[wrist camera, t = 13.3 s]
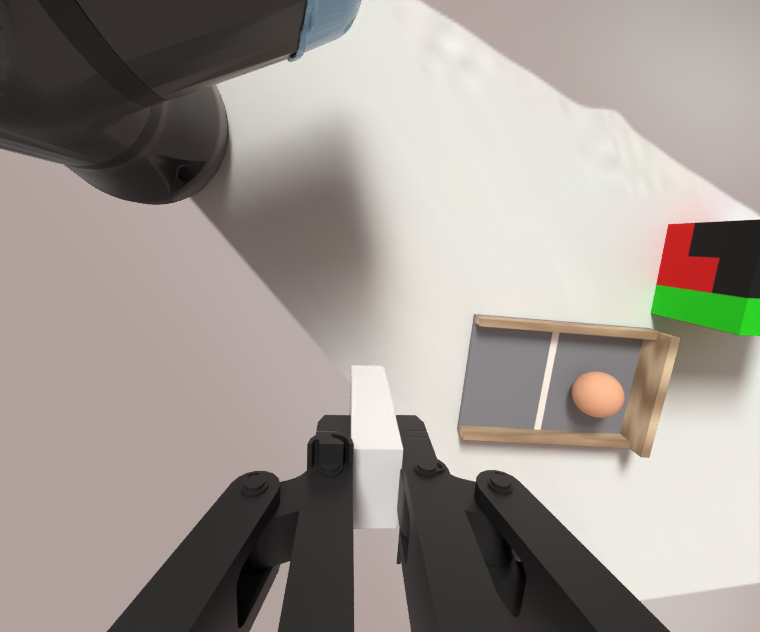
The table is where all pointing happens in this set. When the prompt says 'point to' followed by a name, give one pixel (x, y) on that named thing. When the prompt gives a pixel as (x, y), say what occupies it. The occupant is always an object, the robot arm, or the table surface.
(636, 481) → the table surface
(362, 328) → the table surface
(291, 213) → the table surface
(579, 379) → the ball
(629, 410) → the divided wooden tray
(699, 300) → the puzzle toy
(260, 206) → the table surface
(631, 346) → the tray
